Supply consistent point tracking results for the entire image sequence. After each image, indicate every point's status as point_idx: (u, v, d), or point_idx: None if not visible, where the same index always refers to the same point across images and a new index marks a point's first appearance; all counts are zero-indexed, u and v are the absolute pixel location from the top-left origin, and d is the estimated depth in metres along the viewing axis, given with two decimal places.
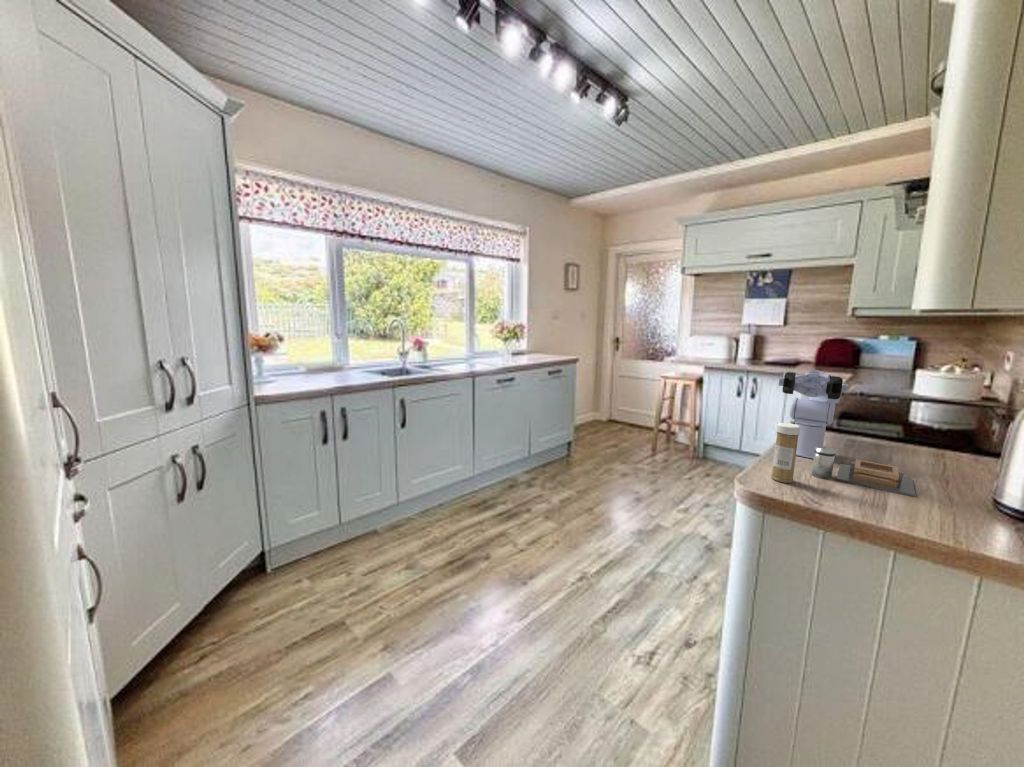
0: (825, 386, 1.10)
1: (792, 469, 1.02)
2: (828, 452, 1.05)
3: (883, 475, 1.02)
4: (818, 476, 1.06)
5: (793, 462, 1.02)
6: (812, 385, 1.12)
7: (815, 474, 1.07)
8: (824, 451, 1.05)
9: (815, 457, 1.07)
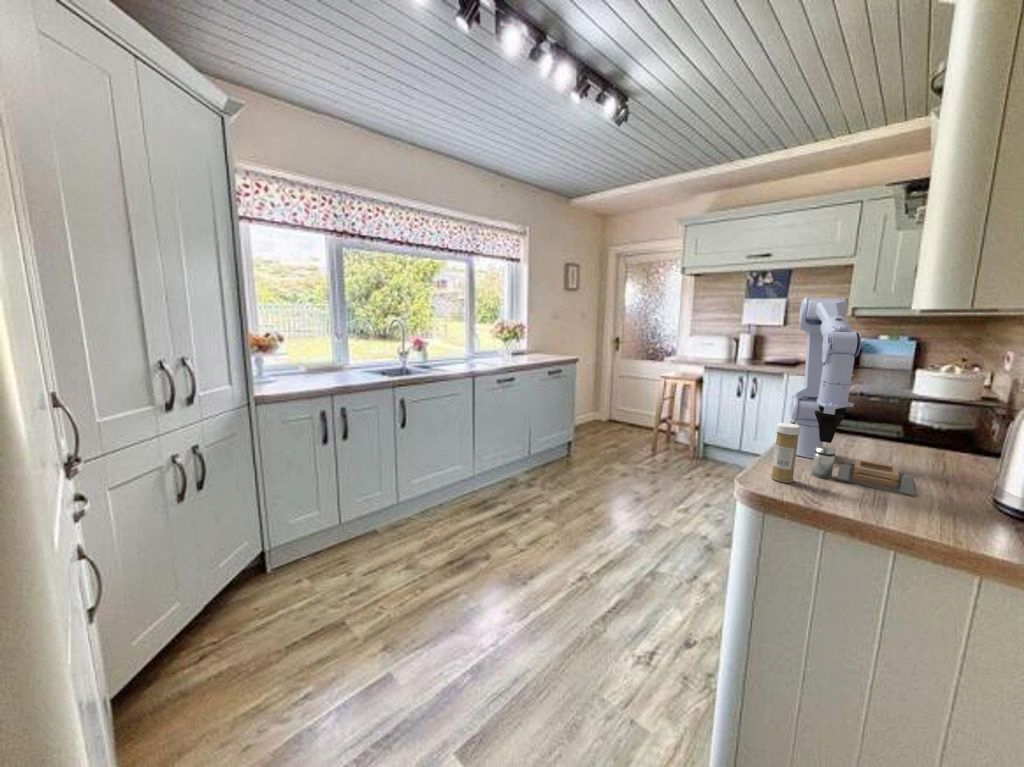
0: None
1: (792, 469, 1.02)
2: (828, 452, 1.05)
3: (883, 475, 1.02)
4: (818, 476, 1.06)
5: (793, 462, 1.02)
6: None
7: (815, 474, 1.07)
8: (824, 451, 1.05)
9: (815, 457, 1.07)
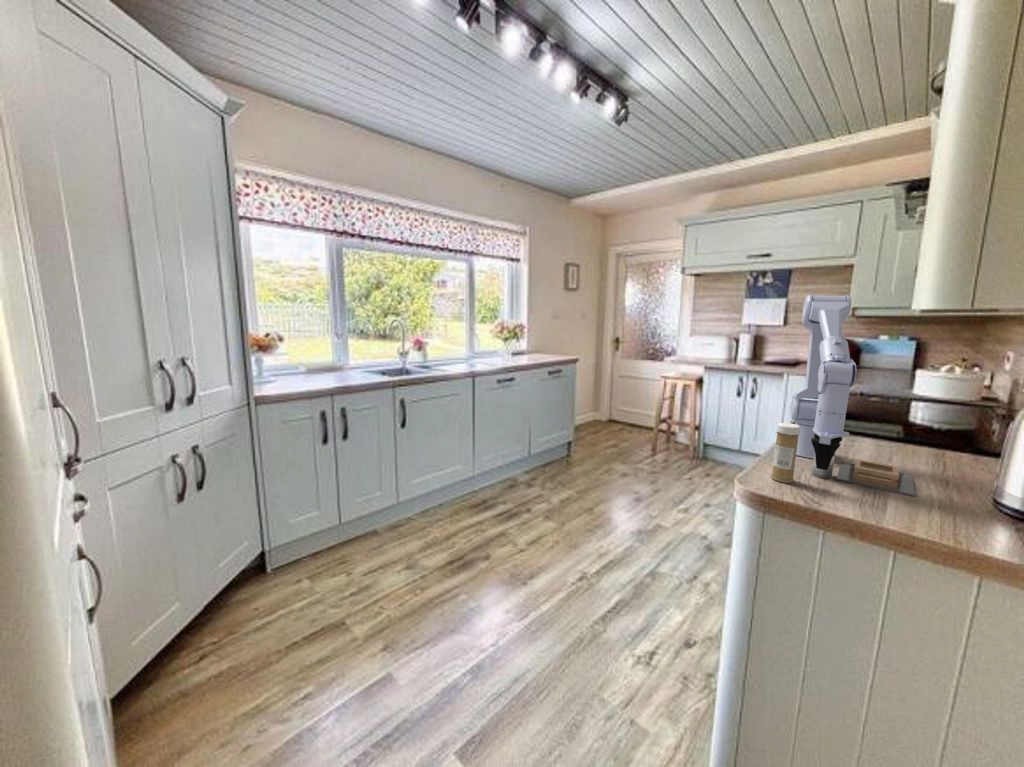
0: None
1: (792, 469, 1.02)
2: None
3: (883, 475, 1.02)
4: (818, 476, 1.06)
5: (793, 462, 1.02)
6: None
7: (815, 474, 1.07)
8: None
9: (815, 457, 1.07)
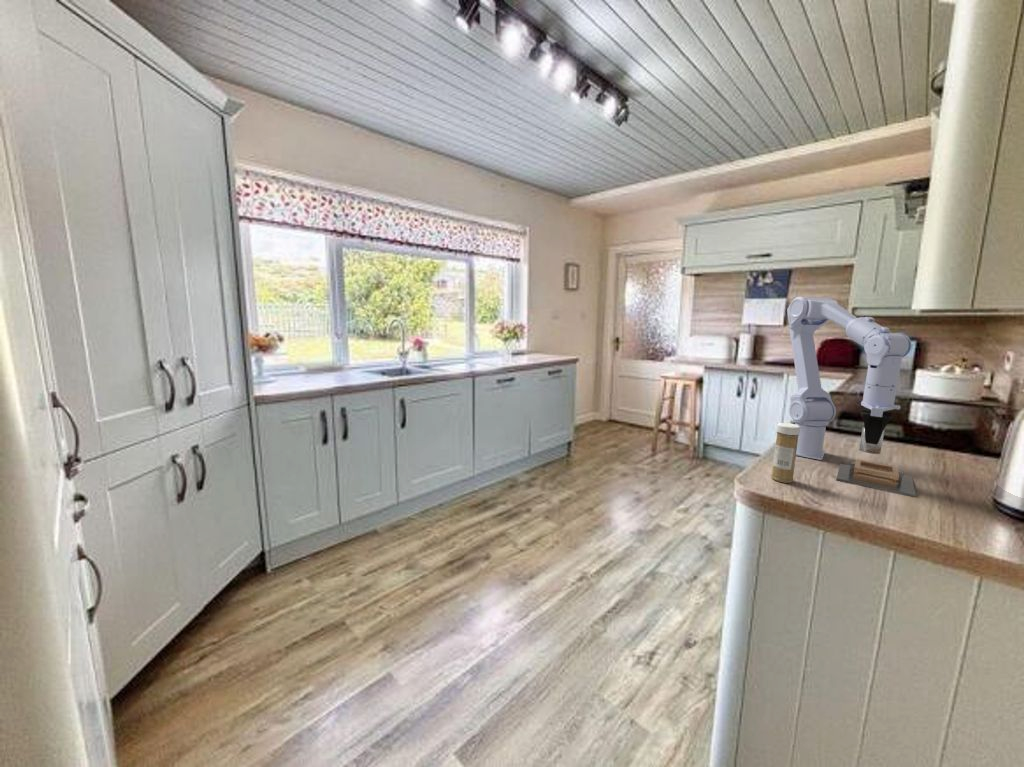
0: None
1: (792, 469, 1.02)
2: None
3: (883, 475, 1.02)
4: (867, 451, 1.04)
5: (793, 462, 1.02)
6: None
7: (864, 449, 1.04)
8: None
9: (864, 432, 1.05)
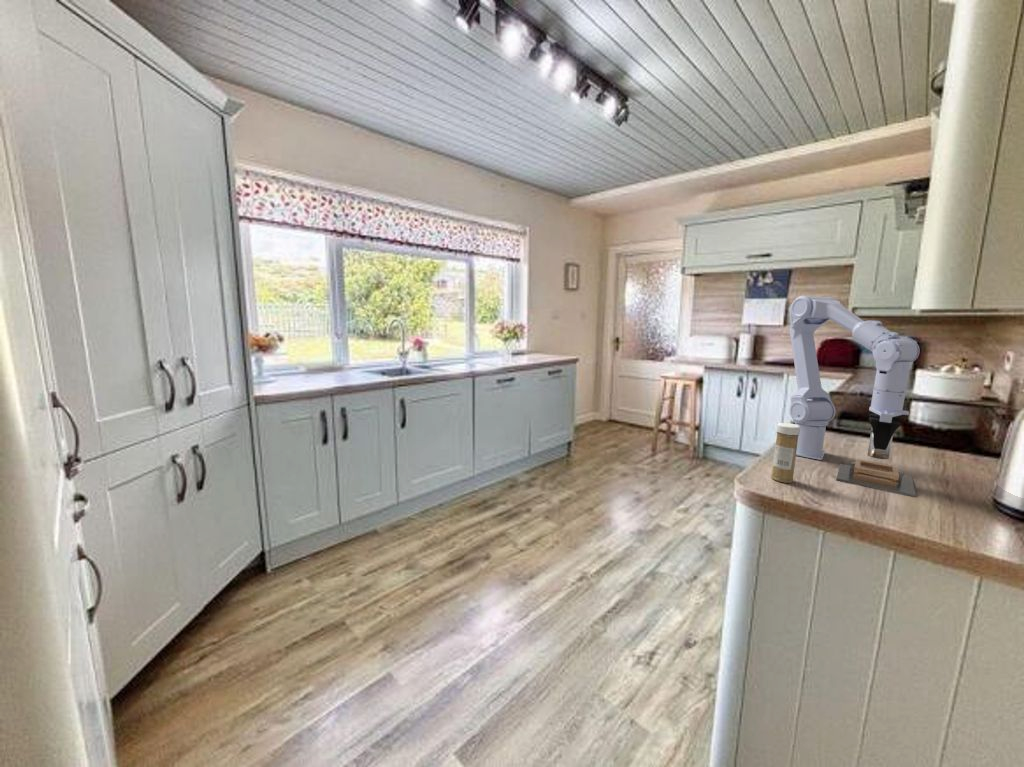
0: None
1: (792, 469, 1.02)
2: None
3: (883, 475, 1.02)
4: (875, 456, 1.04)
5: (793, 462, 1.02)
6: None
7: (872, 454, 1.04)
8: None
9: (872, 437, 1.04)
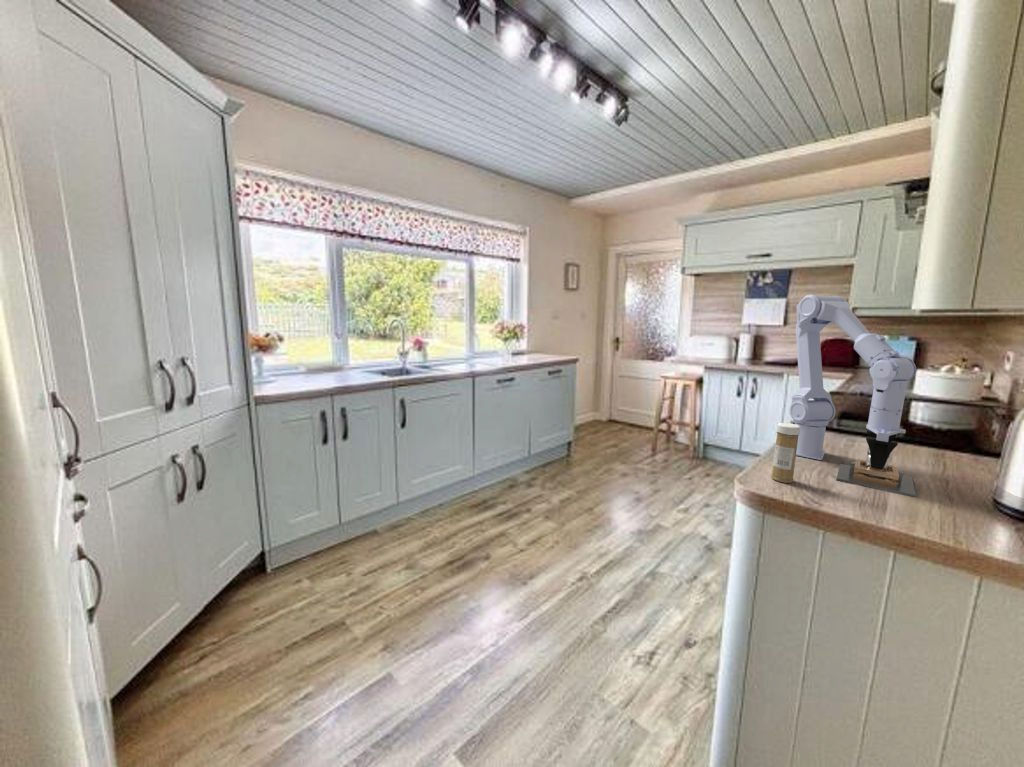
0: None
1: (792, 469, 1.02)
2: None
3: (883, 475, 1.02)
4: None
5: (793, 462, 1.02)
6: None
7: None
8: None
9: (868, 459, 1.05)
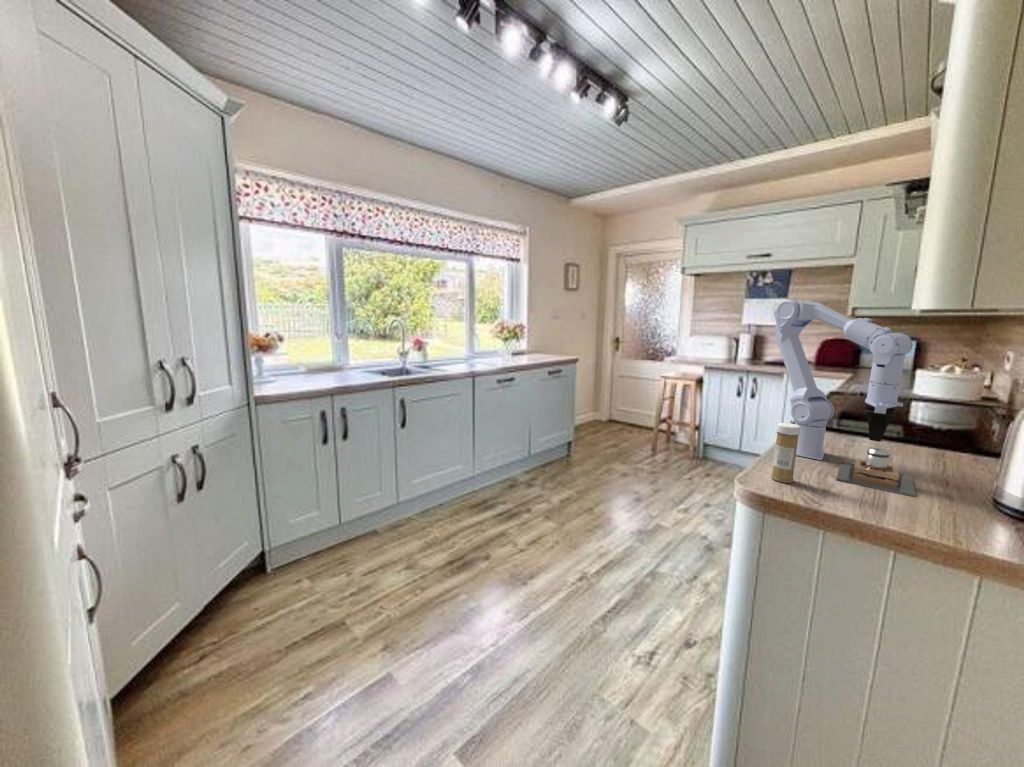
0: None
1: (792, 469, 1.02)
2: (883, 453, 1.03)
3: (883, 475, 1.02)
4: None
5: (793, 462, 1.02)
6: None
7: None
8: (878, 452, 1.03)
9: (868, 459, 1.05)
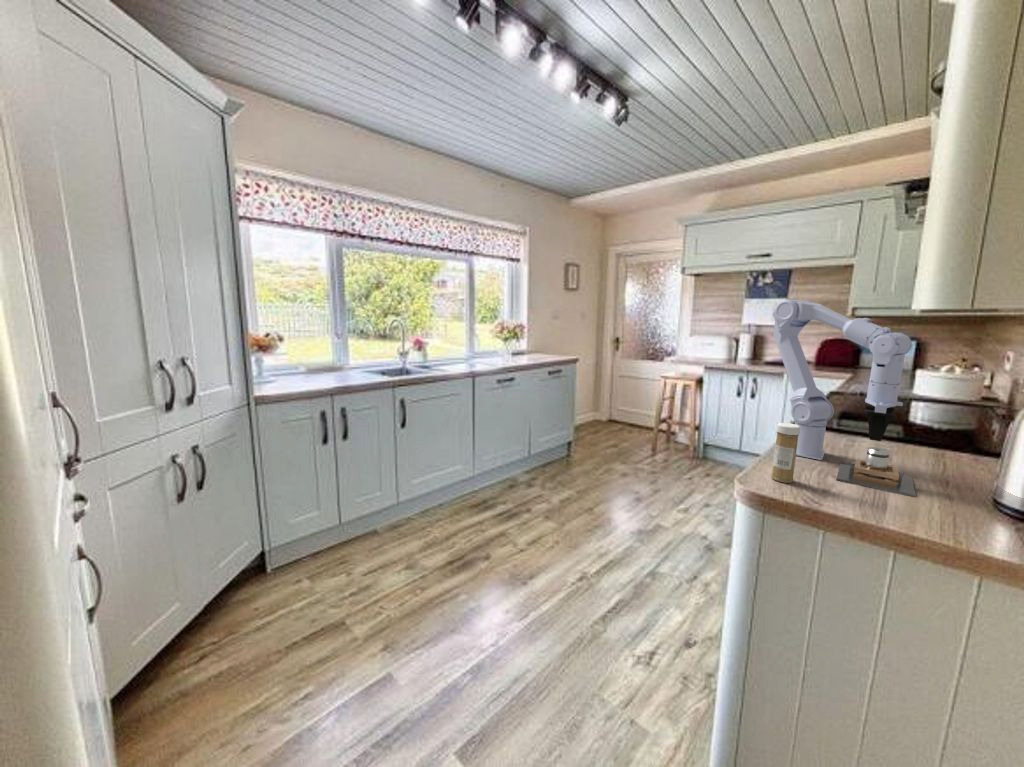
0: None
1: (792, 469, 1.02)
2: (882, 453, 1.03)
3: (883, 475, 1.02)
4: None
5: (793, 462, 1.02)
6: None
7: None
8: (878, 452, 1.03)
9: (868, 459, 1.05)
